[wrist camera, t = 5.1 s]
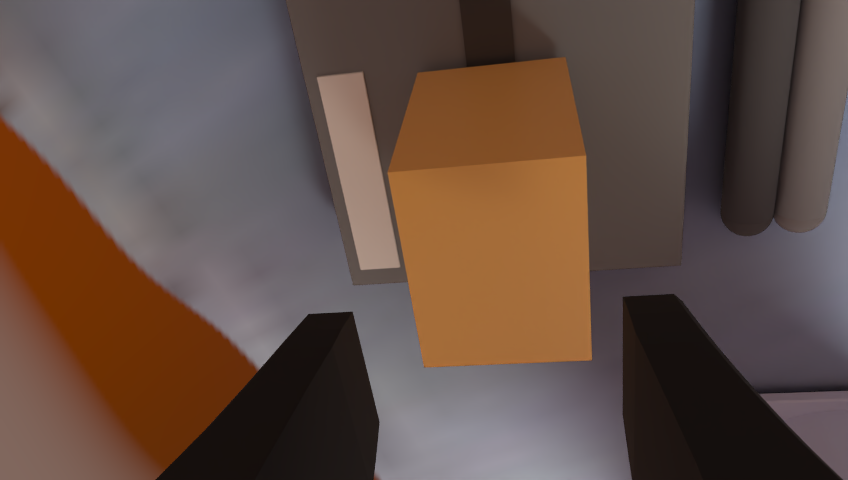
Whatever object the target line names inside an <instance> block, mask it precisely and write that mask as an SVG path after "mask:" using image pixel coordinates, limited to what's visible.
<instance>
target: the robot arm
mask: <svg viewBox="0 0 848 480" xmlns="http://www.w3.org/2000/svg"><path fill="white" fill-rule="evenodd" d="M623 419H624V427H625V434H626V441H627V448H628V455H629V462H630V469H631V476H632V480H848V391H828V392H799V393H769V394H759V393H758V392H757V391H756V390H755V389H754V388H753V387H752V386H751V385H750V384H749V383H748V381H747V380H746V379H745V378H744V377H743V376H742V375H741V373H740V372H739V371H738V370H737V369H736V368H735V367H734V365H733V364H732V363H731V362H730V361H729V359H728V358H727V357H726V356H725V355H724V354H723V352H722V351H721V350H720V349H719V348H718V346H717V345H716V344H715V343H714V341H713V340H712V339H711V338H710V337H709V335H708V334H707V333H706V332H705V330H704V329H703V328H702V327H701V325H700V324H699V323H698V321H697V320H696V319H695V317H694V316H693V315H692V314H691V312H690V311H689V310H688V308H687V307H686V306H685V304H684V303H683V301H681V300H680V299H679V298H678V297H677V296H675V295H674V294H666V295H648V296H630V297H623ZM378 432H379V418H378V414H377V410H376V406H375V402H374V398H373V394H372V390H371V386H370V381H369V377H368V373H367V369H366V365H365V361H364V357H363V353H362V349H361V345H360V340H359V336H358V332H357V328H356V324H355V320H354V316H353V312H339V313H321V314H308V315H307V317H306V318H305V319H304V320H303V321H302V322H301V323H300V324H299V325H298V326H297V328H296V329H295V330H294V331H293V332H292V333H291V334H290V335H289V337H288V338H287V339H286V340H285V341H284V342H283V343H282V344H281V346H280V347H279V348H278V349H277V350H276V351H275V353H274V354H273V355H272V356H271V357H270V358H269V359H268V361H267V362H266V363H265V364H264V365H263V366H262V367H261V369H260V370H259V371H258V372H257V373H256V374H255V375H254V377H253V378H252V379H251V380H250V381H249V382H248V383H247V385H246V386H245V387H244V388H243V389H242V390H241V391H240V392H239V393H238V395H237V396H236V397H235V398H234V399H233V400H232V401H231V402H230V404H228V405H227V407H226V408H225V409H224V410H223V411H222V412H221V413H220V414H219V415H218V416H217V418H216V419H215V420H214V421H213V422H212V423H211V424H210V425H209V426H208V427H207V428H206V430H205V431H204V432H203V433H202V434H201V435H200V436H199V437H198V438H197V439H196V440H195V441H194V442H193V443H192V444H191V445H190V446H189V447H188V448H187V449H186V450H185V451H184V452H183V453H182V454H181V455H180V456H179V457H178V458H177V459H176V460H175V461H174V462H173V463H172V464H171V465H170V466H169V467H168V468H167V469H166V470H165V471H164V472H163V473H162V474H161V475H160V476H159V477H158V478H157V479H156V480H373V479H374V470H375V462H376V452H377V442H378Z"/></svg>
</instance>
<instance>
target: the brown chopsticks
mask: <svg viewBox="0 0 848 480" xmlns="http://www.w3.org/2000/svg"><path fill="white" fill-rule="evenodd" d="M847 91H848V0H738V4H737V16H736V28H735V40H734V53H733V65H732V77H731V89H730V101H729V113H728V125H727V138H726V150H725V162H724V174H723V186H722V198H721V218H722V221H723V223H724V225H725V226H726V227H727V228H728V229H729V230H730V231H731V232H733V233H735V234H737V235H741V236H753V235H756V234H759V233H761V232H762V231H764V230H765V229H766V228H767V227H768V226H769V225H770V223H771V221H772V219H773V217H774V219H775V221H776V222H777V223H778V224H779V226H781V227H782V228H784V229H785V230H788V231H790V232H796V233H802V232H807V231H810V230H812V229H814V228H816V227H817V226H818V225H819V224H820V223H821V222H822V221H823V220H824V218H825V216H826V212H827V208H828V202H829V196H830V190H831V184H832V178H833V173H834V167H835V161H836V155H837V149H838V143H839V137H840V132H841V126H842V120H843V114H844V108H845V102H846V96H847Z"/></svg>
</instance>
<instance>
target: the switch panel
mask: <svg viewBox="0 0 848 480" xmlns="http://www.w3.org/2000/svg"><path fill="white" fill-rule="evenodd" d="M286 4H287V8H288V12H289V16H290V21H291V25H292V29H293V33H294V37H295V42H296V46H297V50H298V54H299V58H300V63H301V67H302V71H303V75H304V79H305V84H306V88H307V92H308V96H309V101H310V105H311V109H312V113H313V117H314V122H315V126H316V130H317V134H318V138H319V143H320V147H321V151H322V155H323V160H324V164H325V168H326V172H327V176H328V181H329V185H330V189H331V193H332V197H333V202H334V206H335V210H336V214H337V218H338V223H339V227H340V231H341V235H342V240H343V244H344V248H345V252H346V256H347V261H348V265H349V269H350V273H351V277H352V282H353V285H367V284H383V283H399V282H408V279H407V273H406V268H405V263H404V257H403V252H402V247H401V241H400V236H399V231H398V226H397V220H396V215H395V210H394V204H393V199H392V194H391V188H390V183H389V178H388V169H389V166H390V163H391V159H392V156H393V153H394V149H395V146H396V143H397V139H398V136H399V133H400V129H401V126H402V123H403V120H404V116H405V113H406V110H407V106H408V103H409V100H410V96H411V93H412V90H413V86H414V83H415V80H416V76H417V73H419V72H429V71H438V70H447V69H457V68H466V67H476V66H485V65H494V64H504V63H513V62H522V61H532V60H541V59H551V58H560V57H566V62H567V66H568V71H569V76H570V81H571V85H572V90H573V95H574V100H575V105H576V109H577V114H578V119H579V124H580V128H581V133H582V138H583V143H584V148H585V152H586V167H587V203H588V238H589V271H596V270H613V269H629V268H645V267H662V266H678V265H681V259H682V239H683V220H684V201H685V182H686V162H687V143H688V124H689V105H690V86H691V66H692V47H693V28H694V9H695V0H286Z"/></svg>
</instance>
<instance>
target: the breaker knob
mask: <svg viewBox="0 0 848 480" xmlns="http://www.w3.org/2000/svg"><path fill="white" fill-rule="evenodd" d="M388 178H389V183H390V188H391V194H392V199H393V204H394V210H395V215H396V220H397V226H398V231H399V236H400V241H401V247H402V252H403V257H404V263H405V268H406V273H407V279H408V284H409V289H410V295H411V300H412V305H413V310H414V316H415V321H416V326H417V332H418V337H419V342H420V348H421V353H422V358H423V364H424V367H445V366H469V365H493V364H517V363H540V362H564V361H588V360H592V346H591V310H590V274H589V238H588V203H587V167H586V152H585V148H584V143H583V138H582V133H581V128H580V124H579V119H578V114H577V109H576V105H575V100H574V95H573V90H572V85H571V81H570V76H569V71H568V66H567V62H566V57H560V58H551V59H541V60H532V61H522V62H513V63H504V64H494V65H485V66H476V67H466V68H457V69H447V70H438V71H429V72H419V73H417V76H416V80H415V83H414V86H413V90H412V93H411V96H410V100H409V103H408V106H407V110H406V113H405V116H404V120H403V123H402V126H401V129H400V133H399V136H398V139H397V143H396V146H395V149H394V153H393V156H392V159H391V163H390V166H389V169H388Z"/></svg>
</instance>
